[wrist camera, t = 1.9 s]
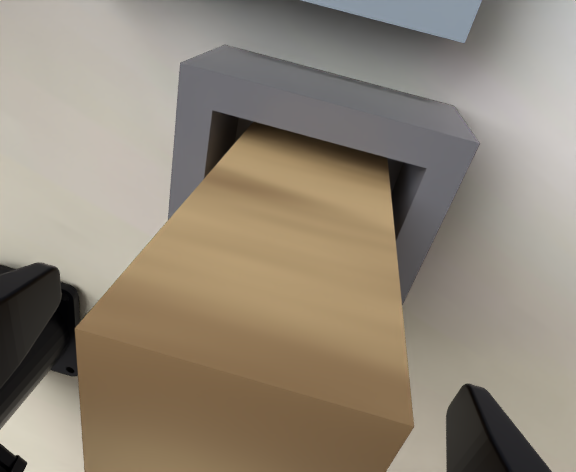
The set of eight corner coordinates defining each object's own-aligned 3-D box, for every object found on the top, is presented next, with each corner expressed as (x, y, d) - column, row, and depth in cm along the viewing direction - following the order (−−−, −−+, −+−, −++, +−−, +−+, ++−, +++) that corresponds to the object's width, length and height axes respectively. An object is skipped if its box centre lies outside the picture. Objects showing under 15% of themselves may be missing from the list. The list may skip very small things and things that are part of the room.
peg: (348, 251, 17) (322, 572, 8) (240, 221, 17) (86, 501, 8) (386, 146, 15) (414, 426, 5) (261, 113, 15) (74, 328, 5)
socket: (376, 287, 18) (377, 355, 15) (200, 238, 19) (162, 293, 15) (453, 105, 14) (480, 143, 11) (224, 44, 14) (180, 62, 11)
